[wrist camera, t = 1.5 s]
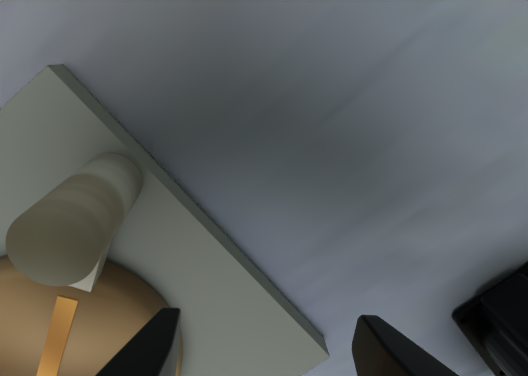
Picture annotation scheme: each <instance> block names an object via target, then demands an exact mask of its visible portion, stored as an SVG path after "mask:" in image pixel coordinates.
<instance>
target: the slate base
mask: <svg viewBox="0 0 528 376" xmlns="http://www.w3.org/2000/svg"><path fill="white" fill-rule="evenodd" d="M104 153H114V154H119V155H122V156H124V157H126V158H128V159H129V160H131V161H132V162H133V163H134V164H135V165H136V166H137V168H138V169H139V171H140V174H141V176H142V190H141V193H140V195H139V196H138V198H137V200H136V201H135V203H134V204H133V206H132V208H131V209H130V211H129V213H128V214H127V216H126V217H125V219H124V221H123V222H122V224H121V225H120V227H119V229H118V230H117V232H116V234H115V235H114V237H113V238H112V240H111V243H110V247H109V250H108V253H107V257H106V260H105V261H108V262H110V263H113V264H115V265H117V266H119V267H121V268H123V269H125V270H127V271H128V272H130V273H132V274H133V275H135V276H137V277H138V278H140V279H141V280H142V281H143V282H145V283H146V284H147V285H148V286H150V287H151V288H152V289H153V290H154V291H155V292H156V293H157V294H158V295H159V296H160V297H161V298H162V300H163V301H164V302H165V304H166V305H167V306H168V307H175V308H180V309H181V326H180V334H181V339H182V344H183V360H182V367H181V374H180V376H302V375H303V374H305V373H306V372H308V371H309V370H311V369H312V368H313V367H315V366H316V365H318V364H319V363H321V362H322V361H324V360H325V359H327V358H328V357H330V355H329V352H328V349H327V346H326V343H325V340H324V338H323V337H322V335H321V334H320V333H319V332H318V331H317V330H316V329H315V328H314V327H313V326H312V325H311V324H310V323H309V322H308V321H307V320H306V319H305V318H304V317H303V316H302V315H301V313H300V312H299V311H298V310H297V309H296V308H295V307H294V306H293V305H292V304H291V303H290V302H289V301H288V300H287V299H286V298H285V297H284V296H283V295H282V294H281V293H280V291H279V290H278V289H277V288H276V287H275V286H274V285H273V284H272V283H271V282H270V281H269V280H268V279H267V278H266V277H265V276H264V275H263V274H262V273H261V272H260V271H259V269H258V268H257V267H256V266H255V265H254V264H253V263H252V262H251V261H250V260H249V259H248V258H247V257H246V256H245V255H244V254H243V253H242V252H241V251H240V250H239V249H238V248H237V246H236V245H235V244H234V243H233V242H232V241H231V240H230V239H229V238H228V237H227V236H226V235H225V234H224V233H223V232H222V231H221V230H220V229H219V228H218V227H217V226H216V224H215V223H214V222H213V221H212V220H211V219H210V218H209V217H208V216H207V215H206V214H205V213H204V212H203V211H202V210H201V209H200V208H199V207H198V206H197V205H196V204H195V202H194V201H193V200H192V199H191V198H190V197H189V196H188V195H187V194H186V193H185V192H184V191H183V190H182V189H181V188H180V187H179V186H178V185H177V184H176V183H175V182H174V180H173V179H172V178H171V177H170V176H169V175H168V174H167V173H166V172H165V171H164V170H163V169H162V168H161V167H160V166H159V165H158V164H157V163H156V162H155V161H154V160H153V159H152V157H151V156H150V155H149V154H148V153H147V152H146V151H145V150H144V149H143V148H142V147H141V146H140V145H139V144H138V143H137V142H136V141H135V140H134V139H133V138H132V137H131V135H130V134H129V133H128V132H127V131H126V130H125V129H124V128H123V127H122V126H121V125H120V124H119V123H118V122H117V121H116V120H115V119H114V118H113V117H112V116H111V115H110V113H109V112H108V111H107V110H106V109H105V108H104V107H103V106H102V105H101V104H100V103H99V102H98V101H97V100H96V99H95V98H94V97H93V96H92V95H91V94H90V93H89V91H88V90H87V89H86V88H85V87H84V86H83V85H82V84H81V83H80V82H79V81H78V80H77V79H76V78H75V77H74V76H73V75H72V74H71V73H70V72H69V71H68V70H67V68H66V67H65V66H64V65H63V64H60V65H47V66H46V67H45V68H44V69H43V70H42V71H41V72H40V73H39V74H38V75H36V76H35V77H34V78H33V79H32V80H31V81H30V82H29V83H28V84H27V85H26V86H25V87H24V88H23V89H22V90H20V91H19V92H18V93H17V94H16V95H15V96H14V97H13V98H12V99H11V100H10V101H9V102H8V103H7V104H5V105H4V106H3V107H2V108H1V109H0V257H3V256H7V255H8V254H7V251H6V245H5V240H6V234H7V231H8V229H9V227H10V225H11V224H12V222H13V221H14V220H15V219H16V218H17V217H19V216H20V215H21V214H22V213H24V212H25V211H26V210H28V209H29V208H30V207H31V206H33V205H34V204H35V203H36V202H38V201H39V200H40V199H41V198H43V197H44V196H45V195H47V194H48V193H49V192H50V191H52V190H53V189H54V188H55V187H57V186H58V185H59V184H61V183H62V182H63V181H64V180H66V179H67V178H68V177H69V176H71V175H72V174H73V173H74V172H76V171H77V170H78V169H80V168H81V167H82V166H83V165H85V164H86V163H87V162H88V161H90V160H91V159H92V158H94V157H95V156H98V155H100V154H104Z"/></svg>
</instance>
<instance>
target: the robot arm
mask: <svg viewBox="0 0 528 376" xmlns="http://www.w3.org/2000/svg"><path fill="white" fill-rule="evenodd" d="M463 317H464V318H463ZM462 318H463V319H462ZM453 320H454V322H455V323H456V324H457V326H458V327H459V328H460V330H461V331H462V332H463V334H464V335H465V336H466V338H467V339H468V340H469V342H470V343H471V344H472V346H473V347H474V348H475V350H476V351H477V352H478V353H479V355H480V356H481V357H482V359H483V360H484V361H485V363H486V364H487V365H488V367H489V368H490V369H491V371H492V372H493V373H494V374H495V376H528V264H527V265H526V266H524V267H523V268H521V269H520V270H518V271H517V272H515V273H514V274H512V275H511V276H509V277H508V278H506V279H505V280H503V281H502V282H500V283H498V284H497V285H495V286H494V287H492V288H491V289H489V290H488V291H486V292H485V293H483V294H482V295H480V296H479V297H477V298H476V299H474V300H473V301H471V302H469V303H468V304H466V305H465V306H463V307H462V308H460V309H459V310H457V311H456V312H455V313H454V315H453ZM180 326H181V309H180V308H175V307H163V308H161V309H160V310H159V311H158V312H157V313H156V314H155V315H154V316H153V317H152V318H151V319H150V320H149V321H148V322H147V323H146V324H145V325H144V326H143V327H142V328H141V329H140V330H139V331H138V332H137V333H136V334H135V335H134V336H133V337H132V338H131V339H130V340H129V341H128V342H127V343H126V344H125V345H124V346H123V347H122V348H121V349H120V350H119V351H118V352H117V353H116V354H115V355H114V356H113V357H112V358H111V360H110V361H109V362H108V363H107V364H106V365H105V366H104V367H103V368H102V369H101V370H100V371H99V372H98V373H97V374H96V375H95V376H175V374H176V367H177V359H178V352H179V343H180ZM352 354H353V358H354V363H355V367H356V371H357V376H459V375H457V374H456V373H455V372H453V371H452V370H451V369H449V368H448V367H446V366H445V365H444V364H442V363H441V362H440V361H438V360H437V359H436V358H434V357H433V356H432V355H430V354H429V353H427V352H426V351H425V350H423V349H422V348H421V347H419V346H418V345H417V344H415V343H414V342H413V341H411V340H410V339H408V338H407V337H406V336H404V335H403V334H402V333H400V332H399V331H398V330H396V329H395V328H394V327H392V326H391V325H389V324H388V323H387V322H385V321H384V320H383V319H381V318H380V317H378V316H376V315H361V316H359V318H358V320H357V324H356V329H355V333H354V337H353V341H352Z"/></svg>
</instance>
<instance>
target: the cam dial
mask: <svg viewBox="0 0 528 376" xmlns="http://www.w3.org/2000/svg"><path fill="white" fill-rule="evenodd" d="M141 190H142V176H141V174H140V171H139V169H138V168H137V166H136V165H135V164H134V163H133V162H132V161H131V160H129V159H128V158H126V157H124V156H122V155H119V154H114V153H104V154H100V155H98V156H95V157H94V158H92V159H91V160H90V161H88V162H87V163H86V164H85V165H83V166H82V167H81V168H80V169H78V170H77V171H76V172H74V173H73V174H72V175H71V176H69V177H68V178H67V179H66V180H64V181H63V182H62V183H61V184H59V185H58V186H57V187H55V188H54V189H53V190H52V191H50V192H49V193H48V194H47V195H45V196H44V197H43V198H41V199H40V200H39V201H38V202H36V203H35V204H34V205H33V206H31V207H30V208H29V209H28V210H26V211H25V212H24V213H22V214H21V215H20V216H19V217H17V218H16V219H15V220H14V221H13V222H12V224H11V225H10V227H9V229H8V231H7V234H6V240H5V245H6V251H7V254H8V255H7V256H3V257H0V376H95V375H96V374H97V373H98V372H99V371H100V370H101V369H102V368H103V367H104V366H105V365H106V364H107V363H108V362H109V361H110V360H111V358H112V357H113V356H114V355H115V354H116V353H117V352H118V351H119V350H120V349H121V348H122V347H123V346H124V345H125V344H126V343H127V342H128V341H129V340H130V339H131V338H132V337H133V336H134V335H135V334H136V333H137V332H138V331H139V330H140V329H141V328H142V327H143V326H144V325H145V324H146V323H147V322H148V321H149V320H150V319H151V318H152V317H153V316H154V315H155V314H156V313H157V312H158V311H159V310H160V309H161V308H163V307H168V306H167V305H166V304H165V302H164V301H163V300H162V298H161V297H160V296H159V295H158V294H157V293H156V292H155V291H154V290H153V289H152V288H151V287H150V286H148V285H147V284H146V283H145V282H143V281H142V280H141V279H140V278H138V277H137V276H135V275H133V274H132V273H130V272H128V271H127V270H125V269H123V268H121V267H119V266H117V265H115V264H113V263H110V262H108V261H105V260H106V257H107V253H108V250H109V247H110V243H111V240H112V238H113V237H114V235H115V234H116V232H117V230H118V229H119V227H120V225H121V224H122V222H123V221H124V219H125V217H126V216H127V214H128V213H129V211H130V209H131V208H132V206H133V204H134V203H135V201H136V200H137V198H138V196H139V195H140V193H141ZM182 360H183V344H182V339H181V334H180V343H179V352H178V359H177V367H176V374H175V376H180V374H181V367H182Z"/></svg>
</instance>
